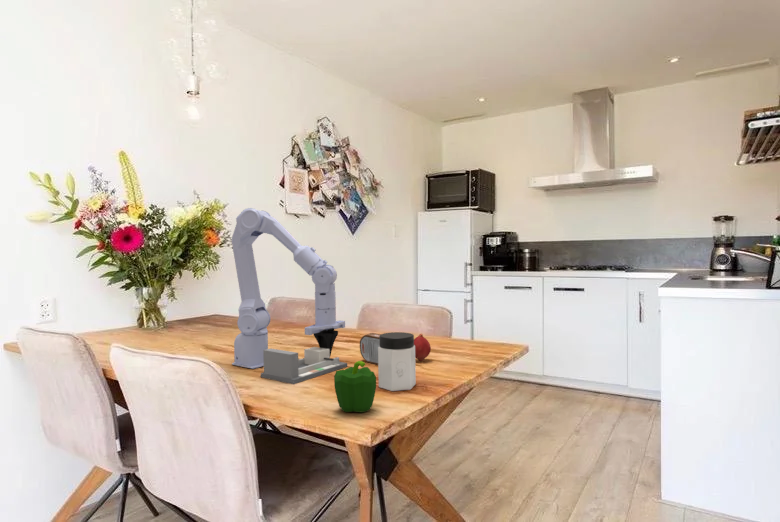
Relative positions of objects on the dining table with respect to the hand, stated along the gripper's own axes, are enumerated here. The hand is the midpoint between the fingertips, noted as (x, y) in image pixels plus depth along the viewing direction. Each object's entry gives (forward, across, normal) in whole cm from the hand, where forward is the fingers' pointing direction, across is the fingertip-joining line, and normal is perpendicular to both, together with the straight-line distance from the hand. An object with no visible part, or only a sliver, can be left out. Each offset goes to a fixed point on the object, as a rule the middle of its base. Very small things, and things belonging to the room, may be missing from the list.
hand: (326, 356), depth 130 cm
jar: (+3, -6, -28) cm, 29 cm away
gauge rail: (+2, -8, 0) cm, 8 cm away
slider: (+1, -4, -2) cm, 4 cm away
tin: (+3, +9, -12) cm, 15 cm away
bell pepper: (+3, -24, -30) cm, 39 cm away
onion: (+3, +18, -20) cm, 27 cm away
